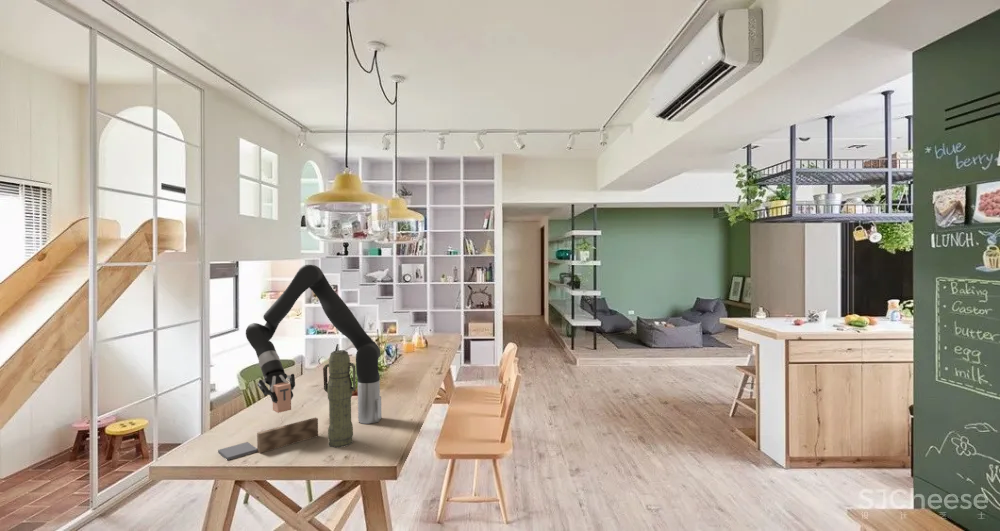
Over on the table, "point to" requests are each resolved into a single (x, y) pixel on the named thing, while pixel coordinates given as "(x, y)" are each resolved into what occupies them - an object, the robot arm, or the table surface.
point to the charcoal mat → (237, 450)
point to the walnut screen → (287, 434)
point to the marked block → (282, 397)
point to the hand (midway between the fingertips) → (283, 400)
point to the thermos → (339, 398)
